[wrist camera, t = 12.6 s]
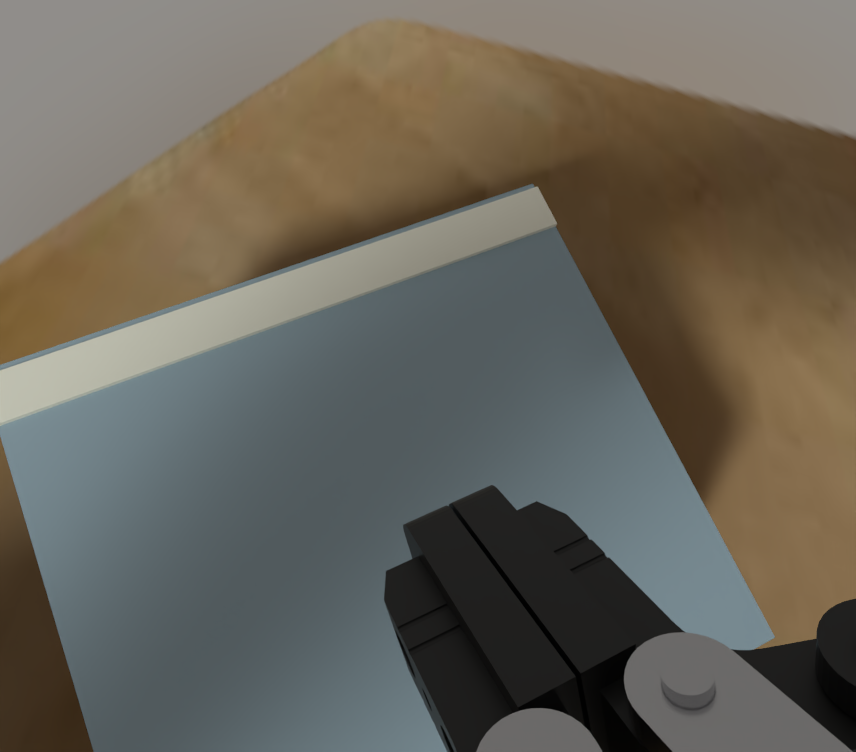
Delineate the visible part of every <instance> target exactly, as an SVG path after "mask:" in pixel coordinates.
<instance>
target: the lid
mask: <svg viewBox="0 0 856 752" xmlns="http://www.w3.org/2000/svg"><path fill="white" fill-rule="evenodd" d="M556 225H557V222H556V220H555V218H554V216H553V215H552V213H551V211H550V209H549V207H548V205H547V203H546V201H545V200H544V198H543V196H542V194H541V192H540V190H539V188H538V186H537V187H534V185H533V184H530V185H527V186H524V187H521V188H518V189H515V190H512V191H509V192H506V193H503V194H501V195H498V196H495V197H492V198H489V199H486V200H483V201H480V202H477V203H474V204H471V205H468V206H465V207H462V208H460V209H457V210H454V211H451V212H448V213H445V214H442V215H439V216H436V217H433V218H430V219H427V220H424V221H421V222H418V223H416V224H413V225H410V226H407V227H404V228H401V229H398V230H395V231H392V232H389V233H386V234H383V235H380V236H377V237H374V238H372V239H369V240H366V241H363V242H360V243H357V244H354V245H351V246H348V247H345V248H342V249H339V250H336V251H333V252H330V253H328V254H325V255H322V256H319V257H316V258H313V259H310V260H307V261H304V262H301V263H298V264H295V265H292V266H289V267H286V268H284V269H281V270H278V271H275V272H272V273H269V274H266V275H263V276H260V277H257V278H254V279H251V280H248V281H245V282H242V283H240V284H237V285H234V286H231V287H228V288H225V289H222V290H219V291H216V292H213V293H210V294H207V295H204V296H201V297H199V298H196V299H193V300H190V301H187V302H184V303H181V304H178V305H175V306H172V307H169V308H166V309H163V310H160V311H157V312H155V313H152V314H149V315H146V316H143V317H140V318H137V319H134V320H131V321H128V322H125V323H122V324H119V325H116V326H113V327H111V328H108V329H105V330H102V331H99V332H96V333H93V334H90V335H87V336H84V337H81V338H78V339H75V340H72V341H69V342H67V343H64V344H61V345H58V346H55V347H52V348H49V349H46V350H43V351H40V352H37V353H34V354H31V355H28V356H25V357H23V358H20V359H17V360H14V361H11V362H8V363H5V364H2V365H0V437H1V440H2V444H3V447H4V450H5V454H6V457H7V460H8V464H9V467H10V471H11V474H12V477H13V481H14V484H15V488H16V491H17V494H18V498H19V501H20V504H21V508H22V511H23V515H24V518H25V521H26V525H27V528H28V531H29V535H30V538H31V542H32V545H33V548H34V552H35V555H36V559H37V562H38V565H39V569H40V572H41V575H42V579H43V582H44V586H45V589H46V592H47V596H48V599H49V602H50V606H51V609H52V613H53V616H54V619H55V623H56V626H57V630H58V633H59V636H60V640H61V643H62V646H63V650H64V653H65V657H66V660H67V663H68V667H69V670H70V673H71V677H72V680H73V684H74V687H75V690H76V694H77V697H78V701H79V704H80V707H81V711H82V714H83V717H84V721H85V724H86V728H87V731H88V734H89V738H90V741H91V744H92V748H93V751H94V752H447V750H446V748H445V746H444V744H443V742H442V740H441V738H440V735H439V733H438V731H437V729H436V727H435V724H434V722H433V721H432V719H431V716H430V714H429V712H428V710H427V708H426V706H425V704H424V701H423V699H422V697H421V695H420V693H419V691H418V689H417V687H416V685H415V682H414V680H413V678H412V676H411V674H410V672H409V670H408V667H407V664H406V661H405V658H404V656H403V653H402V650H401V647H400V644H399V641H398V639H397V636H396V633H395V630H394V627H393V624H392V622H391V619H390V616H389V613H388V610H387V608H386V605H385V602H384V592H385V577H386V571H387V570H389V569H391V568H394V567H396V566H398V565H400V564H402V563H404V562H407V561H409V560H411V559H412V556H411V553H410V549H409V546H408V543H407V540H406V537H405V533H404V529H403V525H404V524H406V523H408V522H410V521H412V520H414V519H417V518H419V517H421V516H423V515H426V514H428V513H430V512H432V511H435V510H437V509H439V508H441V507H444V506H446V505H447V506H449V504H450V503H452V502H454V501H456V500H459V499H461V498H463V497H465V496H468V495H470V494H472V493H474V492H476V491H479V490H481V489H483V488H485V487H488V486H490V485H493V486H495V487H496V488H497V489H498V490H499V491H500V492H501V493H502V494H503V495H504V496H505V497H506V499H507V500H508V501H509V502H510V503H511V504H512V505H513V506H514V508H515V509H516V510H519V509H521V508H523V507H525V506H527V505H529V504H532V503H534V502H536V501H537V502H540V503H542V504H544V505H547V506H549V507H551V508H554V509H556V510H558V511H561V512H563V513H565V514H567V515H568V516H569V517H570V518H571V519H572V520H573V521H574V522H575V523H576V524H577V525H578V526H579V527H580V528H581V529H582V530H583V531H584V532H585V533H586V534H587V536H588V538H589V540H591V539H592V540H593V541H594V542H595V543H596V544H597V545H598V546H599V547H600V548H601V549H602V550H603V551H604V552H605V555H606V557H607V558H608V557H610V559H611V560H612V561H613V562H614V563H615V564H616V565H617V566H618V567H619V568H620V569H621V570H622V571H623V572H624V573H625V574H626V575H627V576H628V577H629V578H630V579H631V580H632V581H633V582H634V583H635V584H636V585H637V586H638V587H639V588H640V589H641V590H642V591H643V592H644V593H645V594H646V595H647V596H648V597H649V598H650V599H651V600H652V601H653V602H654V603H655V604H656V605H657V606H658V607H659V608H660V609H661V610H662V611H663V612H664V613H665V614H666V615H667V616H668V617H669V618H670V619H671V620H672V621H673V622H674V623H675V624H676V625H677V626H678V627H680V628H681V629H682V630H683V631H685V632H686V633H695V634H699V635H703V636H707V637H709V638H712V639H714V640H717V641H718V642H720V643H722V644H724V645H726V646H727V647H728V648H730V649H734V650H753V649H755V648H757V647H759V646H761V645H762V644H764V643H766V642H768V641H770V640H771V639H773V638H775V637H774V635H773V633H772V631H771V629H770V627H769V625H768V624H767V622H766V620H765V618H764V616H763V614H762V612H761V610H760V609H759V607H758V605H757V603H756V601H755V599H754V597H753V595H752V594H751V592H750V590H749V588H748V586H747V584H746V582H745V580H744V579H743V577H742V575H741V573H740V571H739V569H738V567H737V565H736V564H735V562H734V560H733V558H732V556H731V554H730V552H729V550H728V549H727V547H726V545H725V543H724V541H723V539H722V537H721V535H720V534H719V532H718V530H717V528H716V526H715V524H714V522H713V520H712V519H711V517H710V515H709V513H708V511H707V509H706V507H705V505H704V504H703V502H702V500H701V498H700V496H699V494H698V492H697V490H696V489H695V487H694V485H693V483H692V481H691V479H690V477H689V475H688V474H687V472H686V470H685V468H684V466H683V464H682V462H681V461H680V459H679V457H678V455H677V453H676V451H675V449H674V447H673V446H672V444H671V442H670V440H669V438H668V436H667V434H666V432H665V431H664V429H663V427H662V425H661V423H660V421H659V419H658V417H657V416H656V414H655V412H654V410H653V408H652V406H651V404H650V402H649V401H648V399H647V397H646V395H645V393H644V391H643V389H642V387H641V386H640V384H639V382H638V380H637V378H636V376H635V374H634V372H633V371H632V369H631V367H630V365H629V363H628V361H627V359H626V357H625V356H624V354H623V352H622V350H621V348H620V346H619V344H618V342H617V341H616V339H615V337H614V335H613V333H612V331H611V329H610V327H609V326H608V324H607V322H606V320H605V318H604V316H603V314H602V312H601V311H600V309H599V307H598V305H597V303H596V301H595V299H594V297H593V296H592V294H591V292H590V290H589V288H588V286H587V284H586V283H585V281H584V279H583V277H582V275H581V273H580V271H579V269H578V268H577V266H576V264H575V262H574V260H573V258H572V256H571V254H570V253H569V251H568V249H567V247H566V245H565V243H564V241H563V239H562V238H561V236H560V234H559V232H558V230H557V228H556Z"/></svg>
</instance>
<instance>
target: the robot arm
mask: <svg viewBox="0 0 856 752" xmlns="http://www.w3.org/2000/svg"><path fill="white" fill-rule="evenodd" d="M403 529H404V533H405V537H406V540H407V543H408V546H409V549H410V553H411V556H412V559H411V560H409V561H407V562H404V563H402V564H400V565H398V566H396V567H394V568H391V569H389V570H387V571H386V577H385V592H384V602H385V605H386V608H387V610H388V613H389V616H390V619H391V622H392V624H393V627H394V630H395V633H396V636H397V639H398V641H399V644H400V647H401V650H402V653H403V656H404V658H405V661H406V664H407V667H408V670H409V672H410V674H411V676H412V678H413V680H414V682H415V685H416V687H417V689H418V691H419V693H420V695H421V697H422V699H423V701H424V704H425V706H426V708H427V710H428V712H429V714H430V716H431V719H432V721H433V722H434V724H435V727H436V729H437V731H438V733H439V735H440V738H441V740H442V742H443V744H444V746H445V748H446V750H447V752H856V599H853V600H848V601H844V602H842V603H840V604H837V605H835V606H834V607H832V608H831V609H829V610H828V611H827V612H826V613H825V614H824V615H823V616H822V618H821V620H820V622H819V624H818V628H817V639H813V640H807V641H802V642H796V643H791V644H785V645H780V646H774V647H769V648H763V649H755V650H734V649H730V648H728V647H727V646H726V645H724V644H722V643H720V642H718V641H717V640H714V639H712V638H709V637H707V636H703V635H699V634H695V633H686V632H685V631H683V630H682V629H681V628H680V627H678V626H677V625H676V624H675V623H674V622H673V621H672V620H671V619H670V618H669V617H668V616H667V615H666V614H665V613H664V612H663V611H662V610H661V609H660V608H659V607H658V606H657V605H656V604H655V603H654V602H653V601H652V600H651V599H650V598H649V597H648V596H647V595H646V594H645V593H644V592H643V591H642V590H641V589H640V588H639V587H638V586H637V585H636V584H635V583H634V582H633V581H632V580H631V579H630V578H629V577H628V576H627V575H626V574H625V573H624V572H623V571H622V570H621V569H620V568H619V567H618V566H617V565H616V564H615V563H614V562H613V561H612V560H611V559H610V557H608V558H607V557H606V555H605V552H604V551H603V550H602V549H601V548H600V547H599V546H598V545H597V544H596V543H595V542H594V541H593V540H592V539H591V540H589V538H588V536H587V534H586V533H585V532H584V531H583V530H582V529H581V528H580V527H579V526H578V525H577V524H576V523H575V522H574V521H573V520H572V519H571V518H570V517H569V516H568V515H567V514H565V513H563V512H561V511H558V510H556V509H554V508H551V507H549V506H547V505H544V504H542V503H540V502H537V501H536V502H534V503H532V504H529V505H527V506H525V507H523V508H521V509H519V510H516V509H515V508H514V506H513V505H512V504H511V503H510V502H509V501H508V500H507V499H506V497H505V496H504V495H503V494H502V493H501V492H500V491H499V490H498V489H497V488H496V487H495V486H493V485H490V486H488V487H485V488H483V489H481V490H479V491H476V492H474V493H472V494H470V495H468V496H465V497H463V498H461V499H459V500H456V501H454V502H452V503H450V504H449V506H447V505H446V506H444V507H441V508H439V509H437V510H435V511H432V512H430V513H428V514H426V515H423V516H421V517H419V518H417V519H414V520H412V521H410V522H408V523H406V524H404V525H403Z"/></svg>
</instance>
